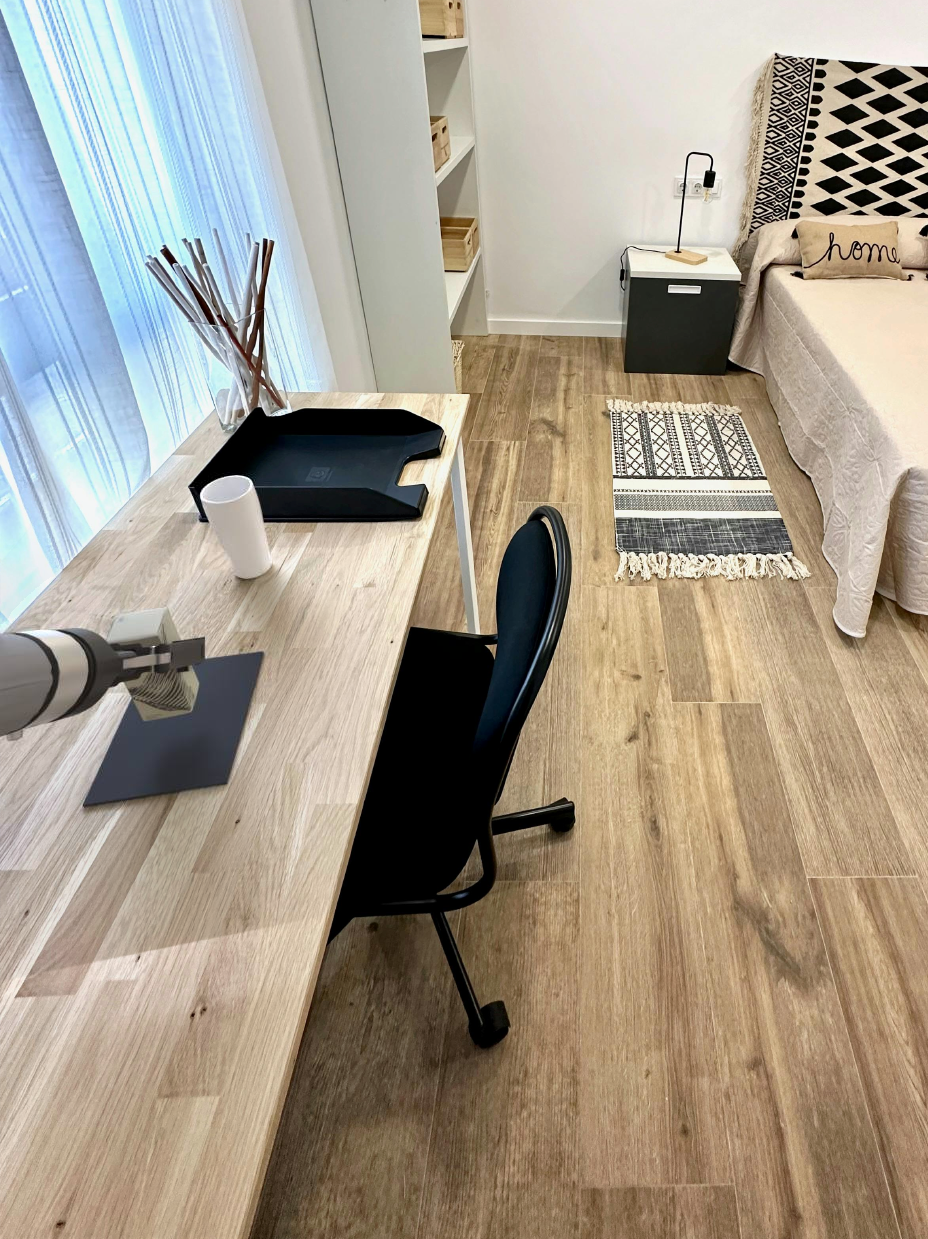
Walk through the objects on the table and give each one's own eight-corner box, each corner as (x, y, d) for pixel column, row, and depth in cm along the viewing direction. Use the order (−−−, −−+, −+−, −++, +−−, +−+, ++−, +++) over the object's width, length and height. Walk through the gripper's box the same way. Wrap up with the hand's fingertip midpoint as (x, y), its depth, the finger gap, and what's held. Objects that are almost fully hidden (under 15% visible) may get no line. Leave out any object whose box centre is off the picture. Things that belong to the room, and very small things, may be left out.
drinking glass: (255, 589, 96) (227, 508, 88) (218, 577, 98) (187, 497, 89) (288, 559, 101) (264, 480, 93) (252, 548, 103) (226, 470, 95)
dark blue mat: (83, 807, 69) (82, 805, 69) (147, 668, 84) (145, 666, 84) (227, 784, 72) (226, 782, 71) (264, 652, 86) (263, 651, 86)
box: (142, 723, 73) (98, 645, 66) (153, 691, 77) (112, 614, 70) (195, 712, 74) (157, 635, 68) (203, 681, 78) (167, 604, 71)
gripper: (-93, 744, 52) (83, 698, 74) (163, 707, 55) (258, 674, 77) (-84, 645, 53) (86, 630, 76) (164, 616, 56) (257, 609, 79)
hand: (173, 652), depth 76 cm, fingers closed on box, 5 cm apart
